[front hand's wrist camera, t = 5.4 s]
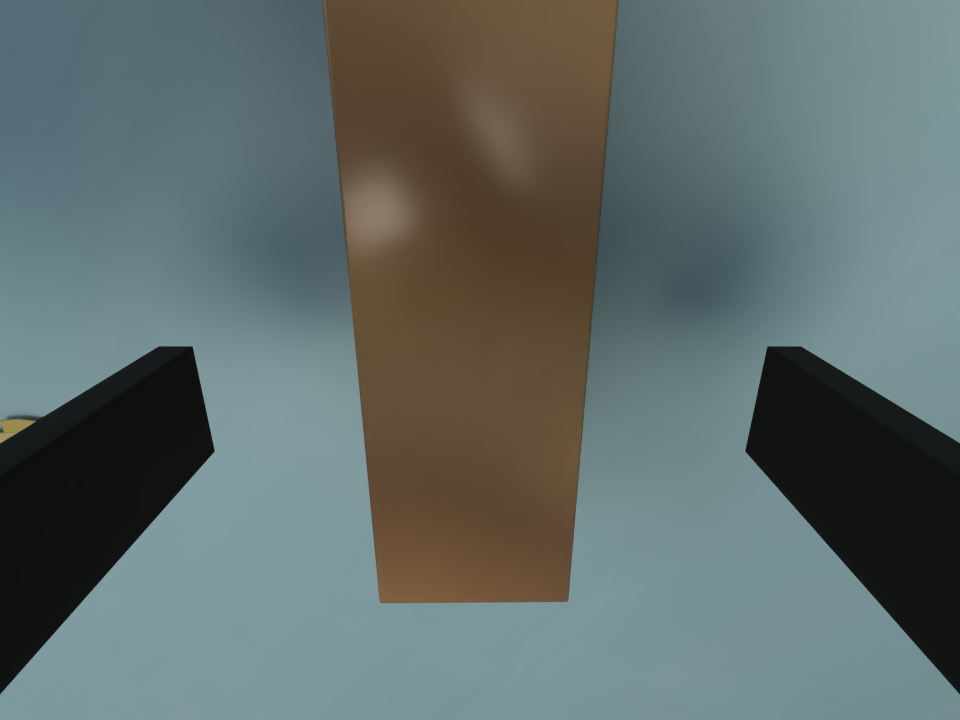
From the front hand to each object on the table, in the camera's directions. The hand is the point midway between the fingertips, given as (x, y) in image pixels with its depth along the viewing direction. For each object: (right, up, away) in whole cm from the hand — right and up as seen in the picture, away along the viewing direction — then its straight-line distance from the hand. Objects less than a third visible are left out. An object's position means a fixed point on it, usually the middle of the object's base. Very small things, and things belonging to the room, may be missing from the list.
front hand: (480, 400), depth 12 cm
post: (0, +33, -5) cm, 33 cm away
